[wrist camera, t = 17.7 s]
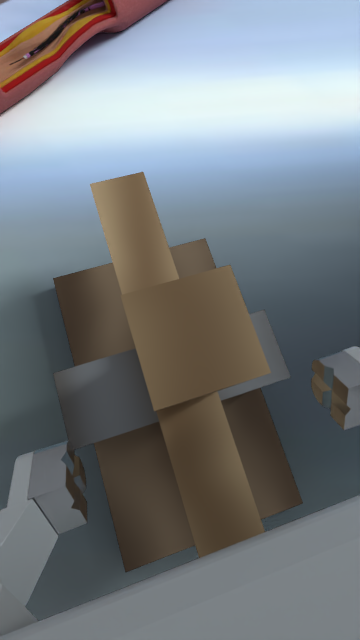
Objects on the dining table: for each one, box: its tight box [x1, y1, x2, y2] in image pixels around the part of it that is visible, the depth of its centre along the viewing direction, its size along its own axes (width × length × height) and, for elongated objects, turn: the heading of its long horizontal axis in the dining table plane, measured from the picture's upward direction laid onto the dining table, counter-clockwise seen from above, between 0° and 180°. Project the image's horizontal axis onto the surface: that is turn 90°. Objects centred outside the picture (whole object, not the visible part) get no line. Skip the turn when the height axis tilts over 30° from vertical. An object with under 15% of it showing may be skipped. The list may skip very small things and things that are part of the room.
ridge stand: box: [53, 238, 303, 572], centre depth 22 cm, size 12×20×8 cm, turn 18°
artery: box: [0, 0, 168, 113], centre depth 31 cm, size 42×5×5 cm, turn 136°
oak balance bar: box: [90, 172, 271, 558], centre depth 13 cm, size 3×22×10 cm, turn 18°
